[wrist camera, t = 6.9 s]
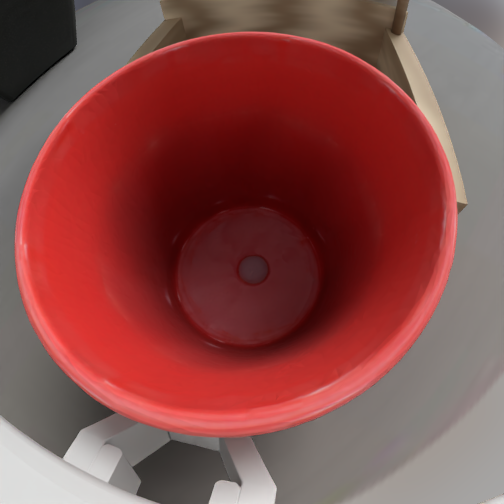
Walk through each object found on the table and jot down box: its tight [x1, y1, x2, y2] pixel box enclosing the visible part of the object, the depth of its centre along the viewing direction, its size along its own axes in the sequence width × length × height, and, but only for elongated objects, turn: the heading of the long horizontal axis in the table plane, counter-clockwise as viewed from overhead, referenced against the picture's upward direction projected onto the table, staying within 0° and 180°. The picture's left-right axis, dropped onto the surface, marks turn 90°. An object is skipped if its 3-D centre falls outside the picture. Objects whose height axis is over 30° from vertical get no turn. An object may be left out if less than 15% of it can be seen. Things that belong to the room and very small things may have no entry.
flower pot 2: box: [15, 32, 458, 438], centre depth 10 cm, size 11×11×10 cm
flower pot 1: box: [0, 0, 77, 102], centre depth 21 cm, size 19×19×17 cm
